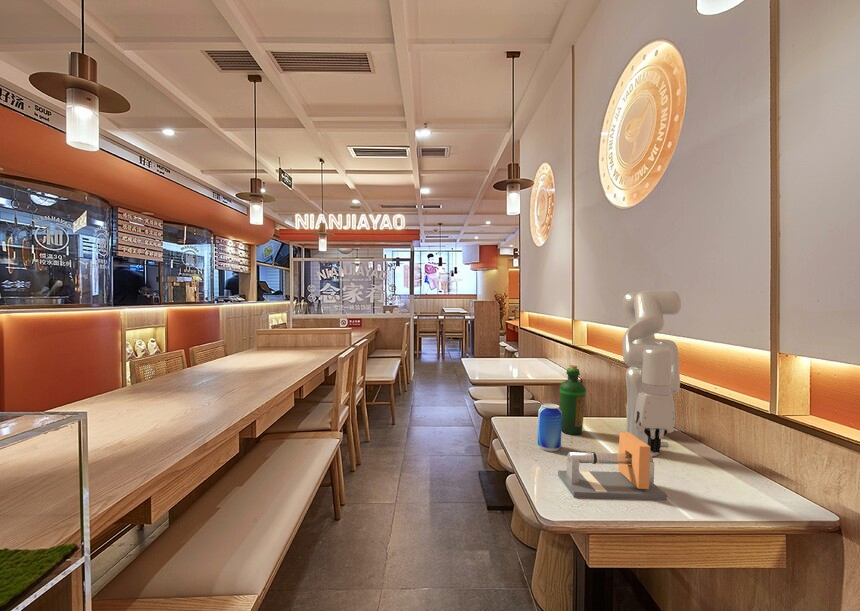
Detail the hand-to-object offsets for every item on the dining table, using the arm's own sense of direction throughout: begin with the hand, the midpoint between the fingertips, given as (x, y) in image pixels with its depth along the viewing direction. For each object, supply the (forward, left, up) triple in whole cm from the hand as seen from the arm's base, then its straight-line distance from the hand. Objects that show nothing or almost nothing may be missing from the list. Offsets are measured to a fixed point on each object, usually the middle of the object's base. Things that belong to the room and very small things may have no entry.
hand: (653, 450), depth 118 cm
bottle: (+7, -49, -11) cm, 51 cm away
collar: (+6, 0, -9) cm, 10 cm away
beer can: (+22, -30, -11) cm, 39 cm away
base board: (+13, 0, -11) cm, 17 cm away
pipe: (+13, 0, -10) cm, 16 cm away
